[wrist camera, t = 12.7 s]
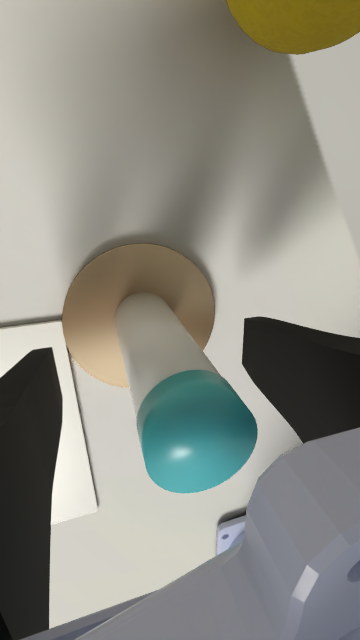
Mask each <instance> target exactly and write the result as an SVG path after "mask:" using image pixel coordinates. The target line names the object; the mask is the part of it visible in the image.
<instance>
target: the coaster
mask: <svg viewBox="0 0 360 640" xmlns="http://www.w3.org/2000/svg"><path fill="white" fill-rule="evenodd" d="M140 292H149V293H153V294H156V295H158V296H159V297H161V298H162V299H163V300H164V301H165V302H166V303H167V305H168V306H169V307H170V309H171V310H172V311H173V313H174V314H175V315H176V317H177V318H178V319H179V321H180V322H181V323H182V325H183V326H184V327H185V329H186V330H187V331H188V333H189V334H190V335H191V337H192V338H193V339H194V341H195V342H196V343H197V345H198V346H199V347H200V349H201V350H202V351H203V350H204V348H205V346H206V344H207V342H208V340H209V338H210V335H211V332H212V329H213V324H214V317H215V305H214V299H213V294H212V291H211V288H210V286H209V284H208V282H207V280H206V278H205V277H204V275H203V274H202V272H201V271H200V270H199V269H198V268H197V266H196V265H195V264H194V263H192V262H191V261H190V260H189V259H187V258H186V257H184V256H183V255H181V254H179V253H178V252H176V251H174V250H171V249H169V248H167V247H163V246H159V245H154V244H130V245H124V246H120V247H117V248H114V249H111V250H109V251H107V252H105V253H103V254H101V255H100V256H98V257H96V258H95V259H93V260H92V261H91V262H90V263H89V264H87V265H86V266H85V267H84V268H83V269H82V270H81V272H80V273H79V274H78V275H77V277H76V278H75V279H74V281H73V283H72V284H71V286H70V288H69V290H68V293H67V296H66V299H65V302H64V308H63V314H62V327H63V335H64V338H65V342H66V345H67V347H68V349H69V352H70V353H71V355H72V356H73V358H74V360H75V361H76V362H77V363H78V364H79V365H80V367H81V368H82V369H84V370H85V371H86V372H87V373H88V374H90V375H91V376H93V377H94V378H96V379H98V380H100V381H102V382H104V383H107V384H110V385H113V386H118V387H125V388H129V384H128V380H127V376H126V372H125V367H124V363H123V359H122V355H121V351H120V346H119V342H118V338H117V334H116V330H115V325H114V316H115V312H116V310H117V308H118V306H119V305H120V303H121V302H122V301H123V300H124V299H125V298H127V297H128V296H130V295H132V294H135V293H140Z"/></svg>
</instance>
